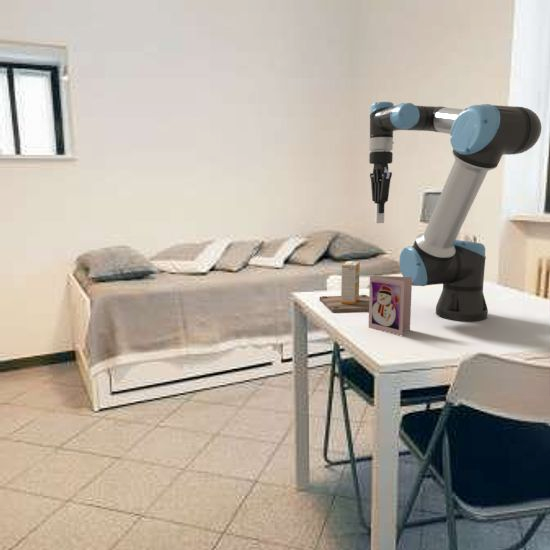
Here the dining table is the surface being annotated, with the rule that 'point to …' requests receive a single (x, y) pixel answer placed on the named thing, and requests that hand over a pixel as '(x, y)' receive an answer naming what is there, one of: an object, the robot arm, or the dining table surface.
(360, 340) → the dining table surface
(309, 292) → the dining table surface
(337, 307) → the plate
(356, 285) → the supplement box
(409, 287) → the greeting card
